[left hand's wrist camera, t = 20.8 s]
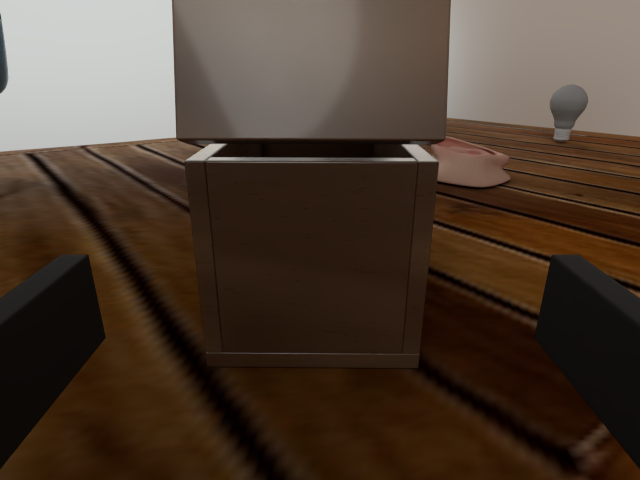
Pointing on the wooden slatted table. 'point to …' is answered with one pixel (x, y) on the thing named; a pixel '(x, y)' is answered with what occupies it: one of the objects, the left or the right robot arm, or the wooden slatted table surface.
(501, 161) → the anatomical model
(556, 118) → the light bulb
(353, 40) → the lid
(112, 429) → the wooden slatted table surface
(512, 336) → the wooden slatted table surface
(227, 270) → the chest
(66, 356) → the left robot arm
